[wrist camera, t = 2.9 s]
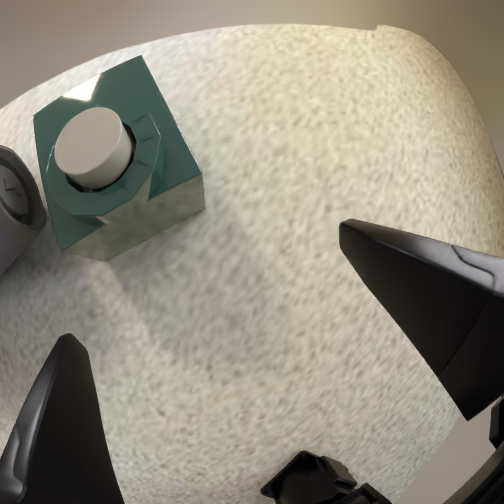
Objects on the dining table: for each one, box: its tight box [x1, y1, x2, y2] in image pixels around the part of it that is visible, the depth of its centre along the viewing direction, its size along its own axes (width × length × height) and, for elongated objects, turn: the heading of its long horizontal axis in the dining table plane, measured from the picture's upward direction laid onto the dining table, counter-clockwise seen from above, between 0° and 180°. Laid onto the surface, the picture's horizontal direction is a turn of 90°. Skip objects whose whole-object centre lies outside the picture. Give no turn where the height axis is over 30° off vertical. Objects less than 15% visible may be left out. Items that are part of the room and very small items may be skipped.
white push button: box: [55, 107, 132, 189], centre depth 11 cm, size 4×4×2 cm
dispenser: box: [33, 55, 205, 262], centre depth 16 cm, size 11×9×9 cm
